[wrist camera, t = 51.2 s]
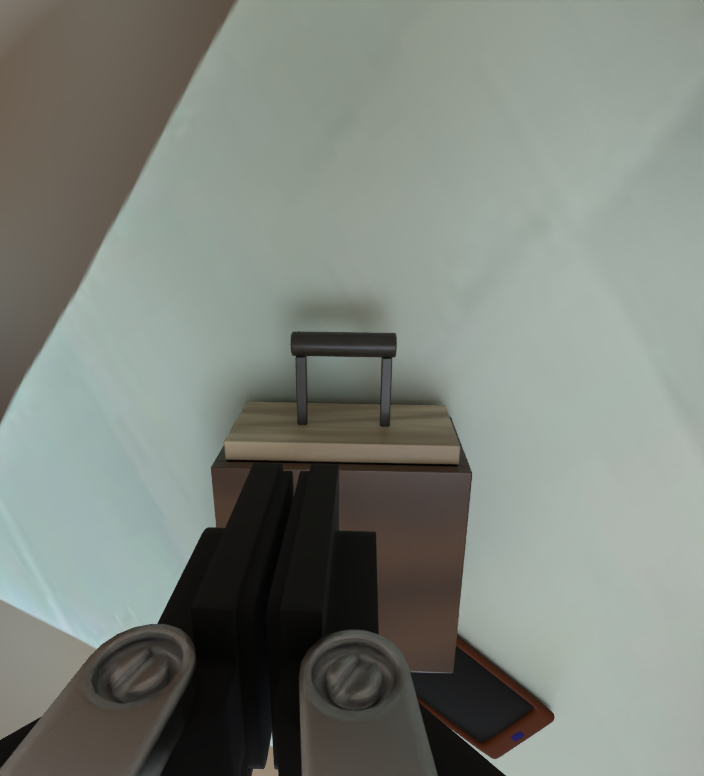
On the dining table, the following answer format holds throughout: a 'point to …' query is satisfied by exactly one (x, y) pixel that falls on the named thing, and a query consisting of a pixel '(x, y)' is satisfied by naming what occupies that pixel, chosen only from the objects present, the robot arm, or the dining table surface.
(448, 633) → the cabinet
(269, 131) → the dining table surface
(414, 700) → the robot arm
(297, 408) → the drawer
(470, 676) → the smartphone
